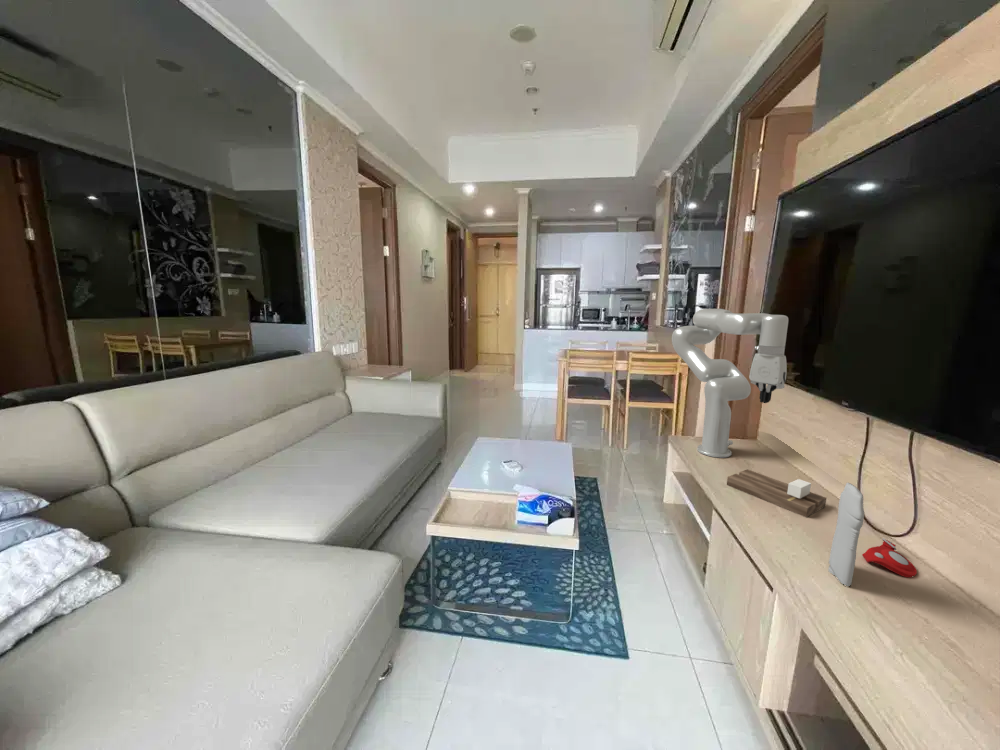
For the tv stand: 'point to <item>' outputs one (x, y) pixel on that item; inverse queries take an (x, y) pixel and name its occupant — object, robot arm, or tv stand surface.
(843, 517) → the tall pale column
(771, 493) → the fader console
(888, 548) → the tracker holder
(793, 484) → the fader knob
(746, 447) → the tv stand surface
